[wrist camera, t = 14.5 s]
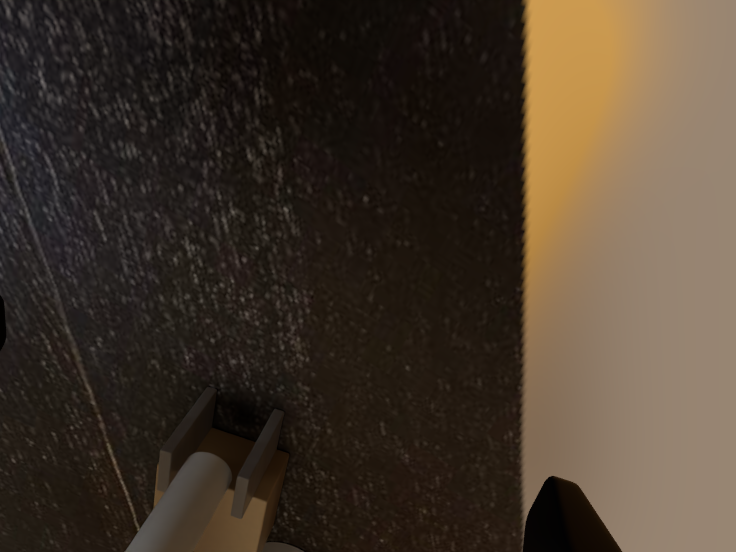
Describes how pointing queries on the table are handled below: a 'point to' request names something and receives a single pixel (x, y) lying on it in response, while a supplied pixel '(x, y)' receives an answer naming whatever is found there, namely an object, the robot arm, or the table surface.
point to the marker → (185, 506)
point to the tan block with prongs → (249, 476)
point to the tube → (279, 547)
